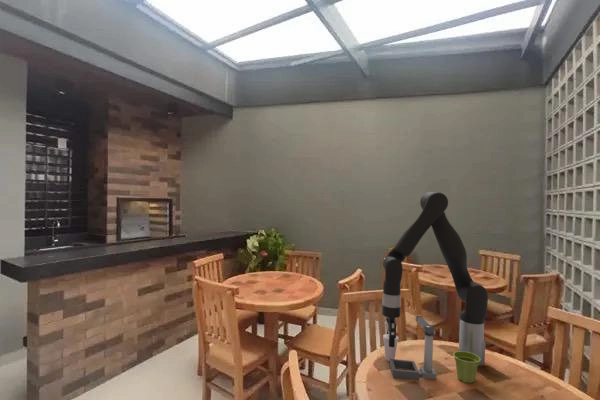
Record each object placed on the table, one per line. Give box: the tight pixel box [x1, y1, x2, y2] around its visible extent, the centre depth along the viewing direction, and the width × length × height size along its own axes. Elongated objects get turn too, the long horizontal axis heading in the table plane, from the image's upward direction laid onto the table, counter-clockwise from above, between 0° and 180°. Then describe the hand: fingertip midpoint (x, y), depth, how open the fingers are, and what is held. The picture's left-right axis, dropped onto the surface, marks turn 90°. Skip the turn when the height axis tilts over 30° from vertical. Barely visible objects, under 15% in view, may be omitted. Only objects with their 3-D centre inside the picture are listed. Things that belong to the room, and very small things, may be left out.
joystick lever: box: [414, 314, 435, 337], centre depth 140 cm, size 16×4×3 cm, turn 178°
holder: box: [389, 334, 437, 381], centre depth 135 cm, size 16×9×16 cm, turn 82°
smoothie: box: [382, 332, 400, 362], centre depth 147 cm, size 6×6×14 cm
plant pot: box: [452, 350, 481, 384], centre depth 132 cm, size 9×9×9 cm
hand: (390, 342), depth 147 cm, fingers open, 8 cm apart
